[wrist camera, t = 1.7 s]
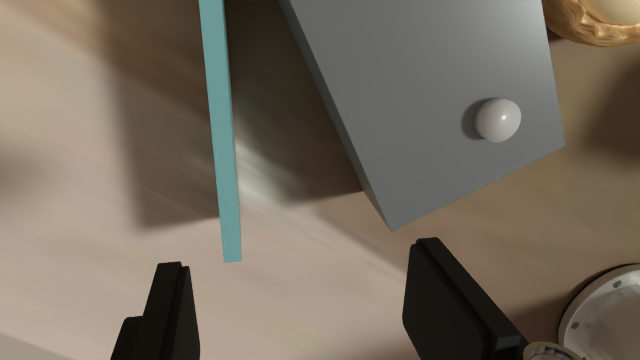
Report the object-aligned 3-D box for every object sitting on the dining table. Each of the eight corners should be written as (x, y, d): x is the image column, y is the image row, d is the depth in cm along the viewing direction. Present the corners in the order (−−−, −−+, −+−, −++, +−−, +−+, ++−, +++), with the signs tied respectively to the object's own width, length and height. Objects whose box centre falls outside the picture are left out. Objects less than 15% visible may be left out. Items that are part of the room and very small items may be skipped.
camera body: (507, 120, 31) (575, 149, 25) (363, 191, 31) (395, 238, 25) (417, -264, 21) (492, -373, 15) (206, -158, 21) (194, -222, 15)
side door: (241, 214, 29) (243, 260, 24) (224, 216, 29) (222, 262, 24) (217, -126, 21) (211, -166, 16) (193, -127, 21) (179, -169, 16)
